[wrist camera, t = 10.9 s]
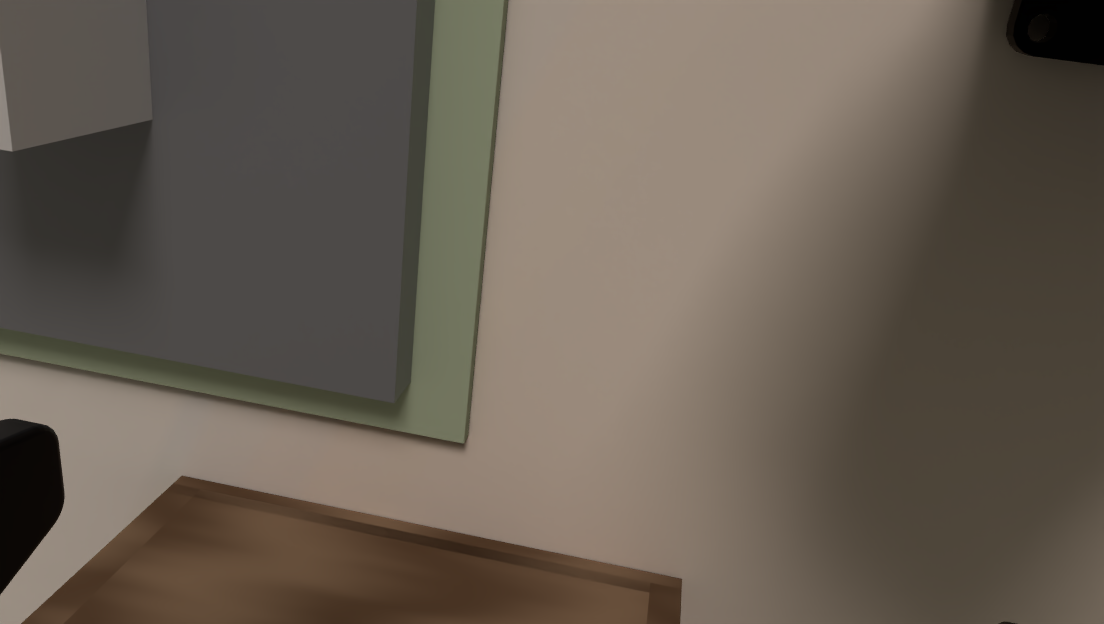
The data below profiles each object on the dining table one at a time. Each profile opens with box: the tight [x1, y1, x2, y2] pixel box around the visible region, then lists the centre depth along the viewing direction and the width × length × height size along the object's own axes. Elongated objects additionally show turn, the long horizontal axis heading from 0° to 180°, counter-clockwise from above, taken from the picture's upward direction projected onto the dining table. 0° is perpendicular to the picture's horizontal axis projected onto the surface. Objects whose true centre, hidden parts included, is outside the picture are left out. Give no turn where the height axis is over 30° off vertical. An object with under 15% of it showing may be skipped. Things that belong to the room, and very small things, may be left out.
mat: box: [0, 0, 508, 444], centre depth 19 cm, size 18×18×1 cm
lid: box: [0, 0, 435, 403], centre depth 17 cm, size 15×15×5 cm
